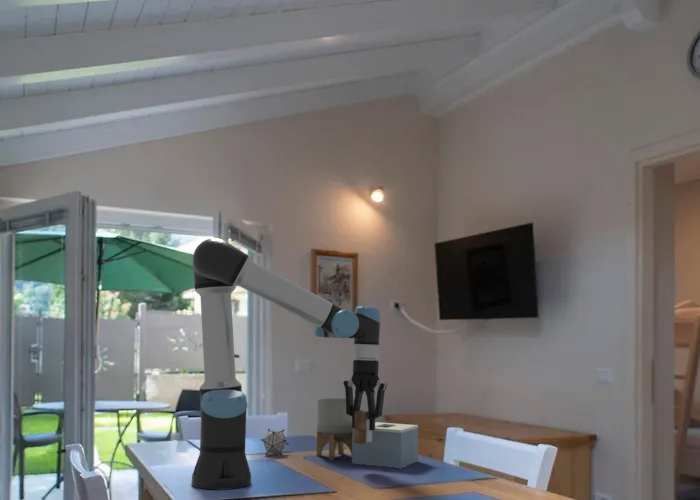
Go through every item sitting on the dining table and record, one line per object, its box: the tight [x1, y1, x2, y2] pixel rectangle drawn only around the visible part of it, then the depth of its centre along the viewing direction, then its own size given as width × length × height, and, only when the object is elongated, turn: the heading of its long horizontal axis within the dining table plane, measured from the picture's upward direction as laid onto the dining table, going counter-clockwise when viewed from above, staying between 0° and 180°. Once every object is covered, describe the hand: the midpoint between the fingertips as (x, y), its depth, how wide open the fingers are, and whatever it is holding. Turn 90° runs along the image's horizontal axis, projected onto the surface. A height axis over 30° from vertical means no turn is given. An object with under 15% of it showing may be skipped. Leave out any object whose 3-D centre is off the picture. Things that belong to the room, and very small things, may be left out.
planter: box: [316, 397, 355, 461], centre depth 228 cm, size 13×13×18 cm
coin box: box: [351, 421, 419, 469], centre depth 218 cm, size 14×16×11 cm
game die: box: [260, 428, 289, 456], centre depth 230 cm, size 9×8×10 cm
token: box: [354, 409, 369, 444], centre depth 205 cm, size 3×6×9 cm, turn 154°
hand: (362, 441), depth 205 cm, fingers closed on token, 3 cm apart
